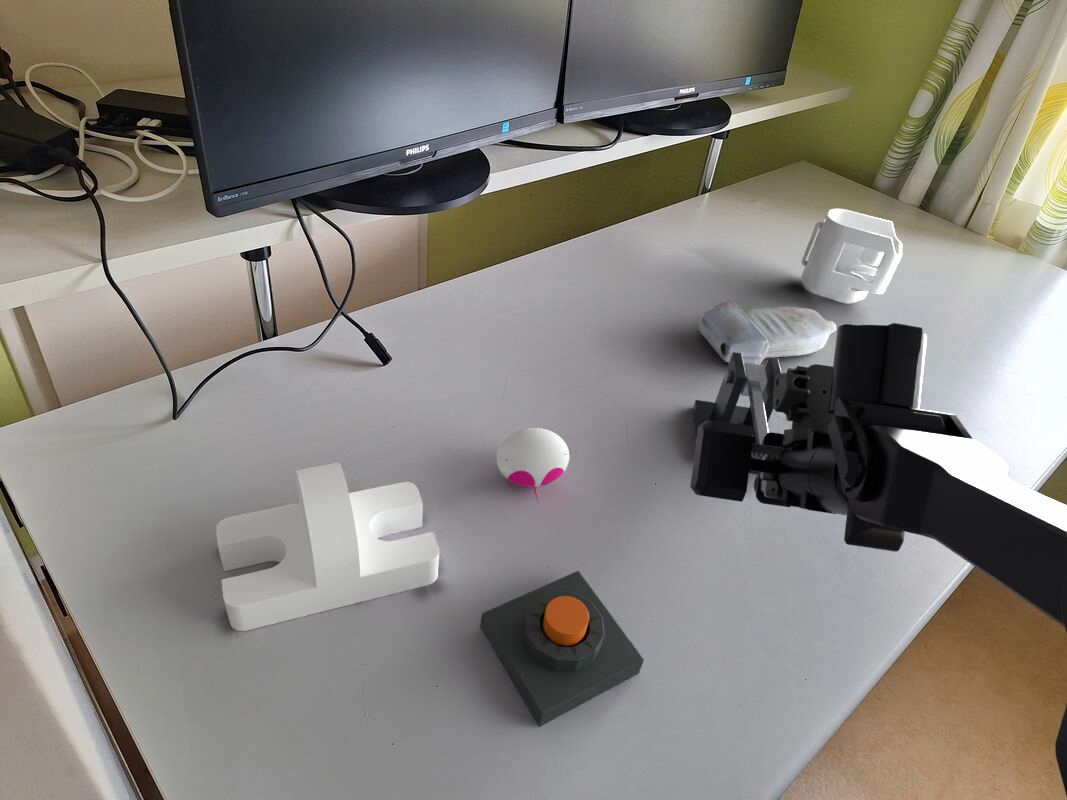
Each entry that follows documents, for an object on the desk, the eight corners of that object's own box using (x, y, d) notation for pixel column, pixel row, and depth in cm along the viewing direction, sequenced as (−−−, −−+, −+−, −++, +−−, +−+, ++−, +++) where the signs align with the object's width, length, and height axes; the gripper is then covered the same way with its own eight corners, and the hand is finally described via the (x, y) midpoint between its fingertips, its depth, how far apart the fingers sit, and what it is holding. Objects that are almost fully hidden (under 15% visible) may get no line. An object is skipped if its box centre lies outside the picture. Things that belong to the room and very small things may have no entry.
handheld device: (851, 356, 104) (864, 329, 101) (725, 375, 98) (735, 346, 95) (810, 316, 111) (822, 289, 107) (690, 331, 104) (698, 303, 101)
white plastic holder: (874, 314, 113) (909, 243, 105) (791, 290, 115) (819, 219, 108) (875, 293, 118) (909, 223, 110) (795, 271, 120) (823, 201, 113)
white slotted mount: (441, 581, 69) (445, 503, 62) (231, 634, 63) (209, 553, 56) (414, 504, 76) (415, 425, 69) (221, 545, 69) (201, 463, 62)
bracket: (769, 475, 84) (803, 403, 77) (698, 465, 84) (725, 391, 77) (758, 416, 92) (787, 345, 85) (692, 406, 92) (716, 334, 85)
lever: (782, 511, 71) (793, 490, 69) (751, 506, 71) (761, 486, 69) (760, 383, 84) (769, 363, 82) (734, 379, 84) (742, 359, 82)
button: (594, 635, 63) (597, 623, 61) (557, 653, 61) (560, 641, 60) (570, 601, 65) (573, 589, 64) (534, 618, 63) (537, 606, 62)
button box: (639, 673, 64) (649, 647, 62) (539, 727, 60) (545, 702, 57) (574, 584, 71) (581, 557, 68) (479, 627, 66) (482, 600, 63)
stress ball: (497, 512, 80) (505, 505, 74) (489, 438, 82) (497, 425, 76) (566, 505, 82) (580, 498, 75) (557, 433, 83) (570, 419, 77)
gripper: (985, 384, 56) (884, 400, 71) (733, 347, 56) (687, 371, 71) (970, 536, 55) (871, 519, 70) (714, 499, 55) (672, 490, 70)
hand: (776, 471), depth 71 cm, fingers closed
